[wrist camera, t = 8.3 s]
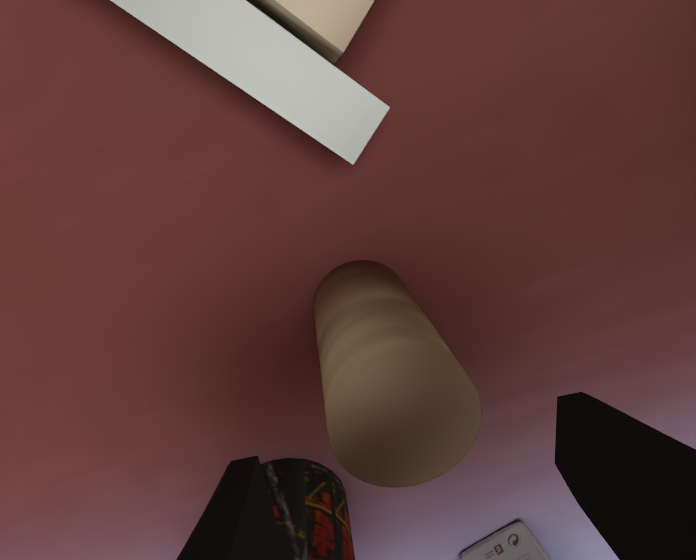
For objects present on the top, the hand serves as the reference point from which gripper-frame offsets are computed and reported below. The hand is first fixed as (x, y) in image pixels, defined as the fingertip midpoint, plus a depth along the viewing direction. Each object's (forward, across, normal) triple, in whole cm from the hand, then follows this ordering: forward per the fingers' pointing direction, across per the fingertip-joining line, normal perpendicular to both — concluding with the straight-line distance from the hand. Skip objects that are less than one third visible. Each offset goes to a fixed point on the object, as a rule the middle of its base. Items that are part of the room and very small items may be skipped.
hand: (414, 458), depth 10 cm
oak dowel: (+9, 0, 0) cm, 9 cm away
